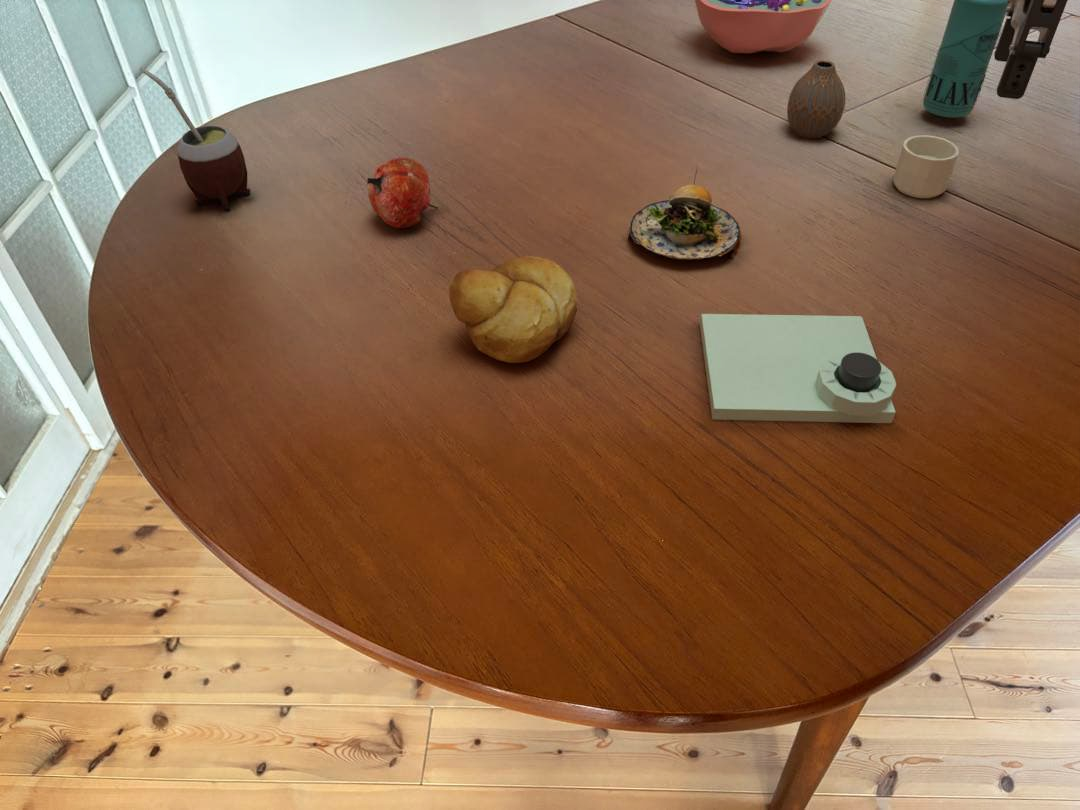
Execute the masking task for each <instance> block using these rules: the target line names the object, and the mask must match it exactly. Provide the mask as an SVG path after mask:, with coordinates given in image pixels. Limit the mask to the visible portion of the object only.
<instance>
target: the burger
mask: <svg viewBox="0 0 1080 810" xmlns="http://www.w3.org/2000/svg"><path fill="white" fill-rule="evenodd" d="M697 173H698V168H696V171H695V174H694V180H693V184H687V185H683V186H680V187H679V188H677V189H676V190H675V191H673V193H672V194H671V195H670V197H669V199H668V200H661V201H657V202H653V203H650V204H647V205H645V206H644V207H643V208H642V209H640V210H638V211H637V212H636V213H635V214H634V215H633V216H632V219H631V220H630V223H629V232H628V235H627V239H628V240H630V239H632V241H633V242H634V243H635V244H637V245H640V246H642V247H643V248H645V249H646V250H647V251H649V252H652V253H654V254H656V255H658V256H659V255H661V256H664V257H666V258H669V259H675V260H689V261H690V260H702V259H708V258H709V259H710V258H712V257H713V258H714V257H722V256H724V255H726V254H728V253H730V251H731V253H730V258H732V259H734V258H735V257H737V256H738V253H739V252H740V249H741V242H742V231H741V227H740V225H739V223H738V222H737V220H736V218H735V217H734V216H732V215H731V214H730V213H729V211H727V210H726V209H725V210H724V209H723V208H721V207H717V206H716V205H714V204H712V203H713V202H712V201H713V199H712V196H711V193H710V192H709V191H708V190H707V188H705V187H703V186H701V185H698V184H695V182H696V178H697Z"/></svg>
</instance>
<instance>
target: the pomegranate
mask: <svg viewBox="0 0 1080 810" xmlns="http://www.w3.org/2000/svg"><path fill="white" fill-rule="evenodd" d="M373 175H374V177H367V178H366V186H368V185H369V187H368V199H369V202H370V205H371V207H372V209H373V211H374V212H375V213H376V214H377V215H379V216H380V217H381V219H382V220H383V222H385V223H386V224H388V225H389V226H391V227H394V228H396V229H405V228H410V227H412V226H414V225H416V224H418V223H419V222H420V221H421V212H423V211H424V210H427V209H428V207H431V208H434V209H436V210H438V209H439V206H437V205H434V204H431V196H430V195H431V183H430V180H429V174H428V171H427V170H426V168H425V167H424V166H423V165H422V164H421V163H420V162H419V161H417V160H415V159H412V158H409V157H396V158H393V159H389V160H388V161H387V162H386V163H385V164H382V165H379V166H378V167H376V169H375V171H374V174H373Z"/></svg>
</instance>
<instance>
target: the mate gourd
mask: <svg viewBox="0 0 1080 810" xmlns="http://www.w3.org/2000/svg"><path fill="white" fill-rule="evenodd" d="M139 71H140V72H141V73H143V74H144V75H145V76H147V77H148V78H149V79H151V80H152V81H154V82H155V83H156V84H157V85H158V86H159V87H161V88H162V90H164V94H165V95H166V97H167V98H168V99H169V100H171V102H172V103H173V105H174V107H175V108H176V109H177V111H178V113H179V114H180V116H181V117H182V119H183V120H184V122H185V124H186V126H187V127H188V129H189V130H187V131H186V132H184V133H183V134H182V136H181V137H180V138H179V141H178V143H177V147H176V152H177V159H178V164H179V168H180V170H181V173H182V175H183V178H184V181H185V182H186V185H187V186H188V188H189V189H190V191H191V193H192V194H193V195H194V197H195V198H196V199H195V200H194V202H195V204H196V206H197V207H200V206H205V205H211V204H215V203H220V204H221V207H222V211H223V212H224V213H229V212H231V211H232V209H231V205H230V201H231V200H234V199H239V198H243V197H249V196H251V189H250V188H248V169H247V164H246V159H245V155H244V152H243V149H242V147H241V145H240V143H239V141H238V140H237V139H238V138H237V137H236V136H235V135H234V133H232V132H231V131H229V130H228V129H226V128H225V127H223V126H219V125H216V124H215V125H202V126H196V127H195V126H194V124H193V122H192V120H191V119H190V118H189V116H188V114H187V112H186V111H185V109H184V108H183V105H181V103H180V102H179V100H178V98H177V97H176V93H175V92H174V90H173V89H172V88H171V87H169V86H168V84H166V82H164V81H163V80H162V79H161V78H159V77H158V76H156V75H155V74H154V73H152V72H151V71H149V70H147V69H146V68H144V67H142V66H141V67H140V68H139Z"/></svg>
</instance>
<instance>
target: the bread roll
mask: <svg viewBox="0 0 1080 810" xmlns="http://www.w3.org/2000/svg"><path fill="white" fill-rule="evenodd" d="M448 297H449V298H448V299H449V303H450V306H451V308H452V310H453V313H454V316H455V317H456V319H457V320H458V321H459V322H461V323H463V324H465V329H466V330H467V332H468V333H469V338H470V339H471V341H472V343H473V345H474V346H475V347H476V349H477V350H478V351H480V352H481V353H482V354H485V355H487V357H490V358H492V359H495V360H497V361H499V362H505V363H508V364H520V363H527V362H529V361H531V360H534V359H536V358H538V357H539V356H541V355H543V354H545V352H546V351H547V350H549V348H550V347H551V346H552V345H553V344H554V343H555V342H557V341H558V340H560V339H561V338H562V337H563V336H564V335H565V334H566V333H567V332H568V331H569V330H570V329H571V327H572V324H573V322H574V320H575V317H576V315H577V313H578V305H577V304H578V302H579V300H578V293H577V289H576V287H575V284H574V282H573V280H572V278H571V277H570V275H569V274H568V273H567V272H566V271H565V270H564V269H563V268H562V266H560V265H559V264H557V263H556V262H555V261H552V260H550V259H548V258H545V257H538V256H535V255H524V256H519V257H514V258H511V259H507V260H506V261H504V262H503V263H501V264H499V265H497V266H496V267H494V268H492V270H485V269H475V268H468V269H465V270H462V271H459V272H458V273H456V274H455V275H454V276H453V277H452V279H451V281H450V283H449V286H448Z"/></svg>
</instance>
